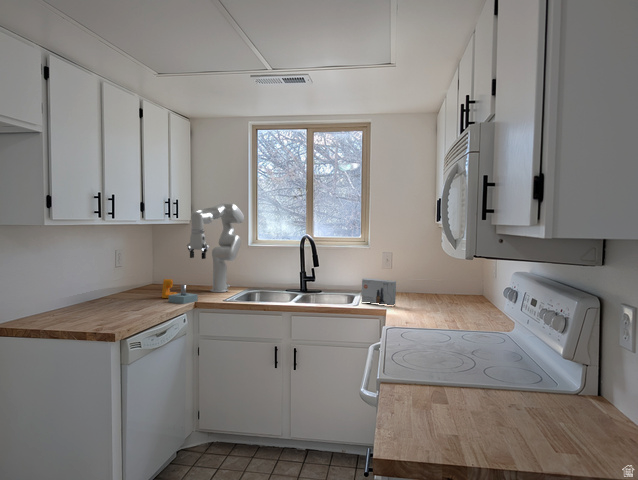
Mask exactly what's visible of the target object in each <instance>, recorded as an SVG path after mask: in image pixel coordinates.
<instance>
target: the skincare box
mask: <svg viewBox="0 0 638 480" xmlns="http://www.w3.org/2000/svg"><path fill="white" fill-rule="evenodd" d="M396 291H397V280H388V279H387V280H386V279H378V278H367V277H364V278H362V279H361V303H362V302H370V303H379V304H387V305H394V304H395V305H396V299H397V298H396V296H397V292H396Z"/></svg>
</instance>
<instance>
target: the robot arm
mask: <svg viewBox="0 0 638 480" xmlns="http://www.w3.org/2000/svg"><path fill="white" fill-rule="evenodd" d="M220 218H221V219H220ZM217 219H220V220H221V223H222V232H221V234H220V237H219V239H218V246H216V247H213V249H212V250H211V258H212V288H211V289H210V292H212V293H226V291H227V292H229V289H228V288H230V287H231V284H228V283H227V274H228V273H227V272H228V271H227V270H228V267H227V263H226V262H227V261H228V262H229V261H230V262H233V261H235V260H236V258H237V256H238V252H239V250H240V247H241V242H242V240H241V236H239V235H237V234H235V233H236V232H235V229H234V226H233V225H232V224H242V223H243V222H244V221H245V216H244V213H243V212H242V211H241V209H240V208H239V207H238V206H237V204H235V203H219V204H217V205H215V206H213V207H207V208H203V209H202V208H201V209H198V210H196V211H193V212H192V213H191V215H190V220H191V221H190V222H191V227H190V229H191V233H190V235H189V237H190V238H189V243H188V244H186V247H187V250H188V252H189V258H190V259H194V258H195V251H194V250H200V251H201V260H206V258H207V257H206V255H207V252H208V250H209V247H210V246H209V245H208V244H207V240H206V234H205V230H204V229H205V228H204V224H205V225H207V224H211V223H212V222H213V220H217ZM225 261H226V262H225Z"/></svg>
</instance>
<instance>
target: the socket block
mask: <svg viewBox="0 0 638 480" xmlns="http://www.w3.org/2000/svg"><path fill="white" fill-rule="evenodd" d="M198 298H199V297H198V294H197V293H191V292H190V293H189V292H186V295H185V296H181V292H180V293H179V292H178V293H177V294H173V295H169V298H168V303H173V304H181V305H182V304H183V305H187V304H190V303H194V302H198V301H199V300H198Z"/></svg>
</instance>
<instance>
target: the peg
mask: <svg viewBox="0 0 638 480" xmlns="http://www.w3.org/2000/svg"><path fill="white" fill-rule="evenodd" d="M180 293H181V296H185V295H186V293H187V284H181V285H180Z"/></svg>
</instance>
